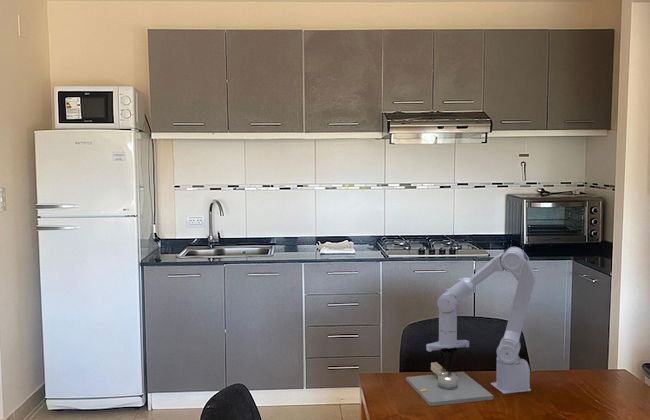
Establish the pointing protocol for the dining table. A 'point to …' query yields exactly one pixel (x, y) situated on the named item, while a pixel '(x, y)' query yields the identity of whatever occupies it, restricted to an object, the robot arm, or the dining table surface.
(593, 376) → the dining table surface
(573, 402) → the dining table surface
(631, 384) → the dining table surface
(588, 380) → the dining table surface
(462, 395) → the lock plate
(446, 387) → the door lever handle
